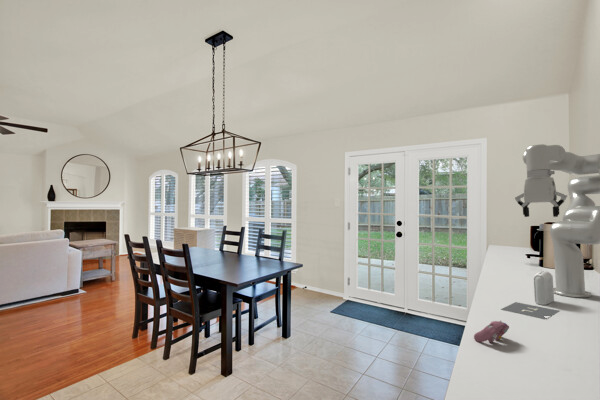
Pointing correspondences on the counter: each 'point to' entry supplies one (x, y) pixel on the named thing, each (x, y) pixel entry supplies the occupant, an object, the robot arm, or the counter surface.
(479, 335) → the video game controller
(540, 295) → the photo printer
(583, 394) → the counter surface
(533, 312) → the dark gray panel
